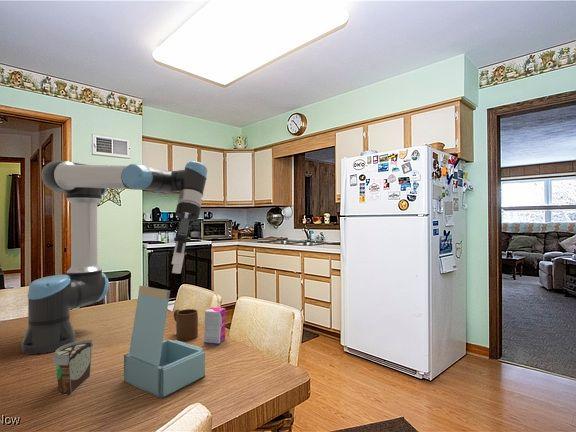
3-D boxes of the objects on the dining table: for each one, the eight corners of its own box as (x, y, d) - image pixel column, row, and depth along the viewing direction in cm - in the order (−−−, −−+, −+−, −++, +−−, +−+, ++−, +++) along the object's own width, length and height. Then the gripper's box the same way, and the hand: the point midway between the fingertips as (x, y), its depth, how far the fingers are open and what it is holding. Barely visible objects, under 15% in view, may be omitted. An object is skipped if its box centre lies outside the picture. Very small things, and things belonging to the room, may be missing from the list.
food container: (69, 375, 93) (69, 339, 93) (92, 374, 93) (92, 338, 93) (40, 399, 81) (40, 357, 81) (67, 398, 81) (67, 356, 81)
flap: (131, 353, 89) (142, 285, 92) (159, 364, 83) (170, 290, 85) (128, 354, 89) (139, 285, 91) (156, 365, 82) (167, 290, 85)
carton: (170, 360, 102) (170, 337, 102) (209, 374, 93) (209, 349, 93) (122, 380, 90) (122, 354, 90) (162, 399, 80) (162, 370, 80)
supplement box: (219, 345, 115) (219, 311, 115) (203, 344, 116) (203, 311, 116) (226, 339, 120) (225, 307, 121) (210, 338, 122) (210, 306, 122)
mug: (165, 335, 125) (165, 310, 125) (183, 329, 131) (183, 305, 131) (184, 342, 117) (184, 315, 117) (202, 336, 123) (202, 311, 123)
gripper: (203, 193, 100) (190, 262, 92) (198, 220, 122) (187, 277, 114) (177, 188, 98) (162, 258, 90) (177, 216, 120) (164, 274, 112)
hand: (176, 269), depth 102 cm, fingers open, 13 cm apart
